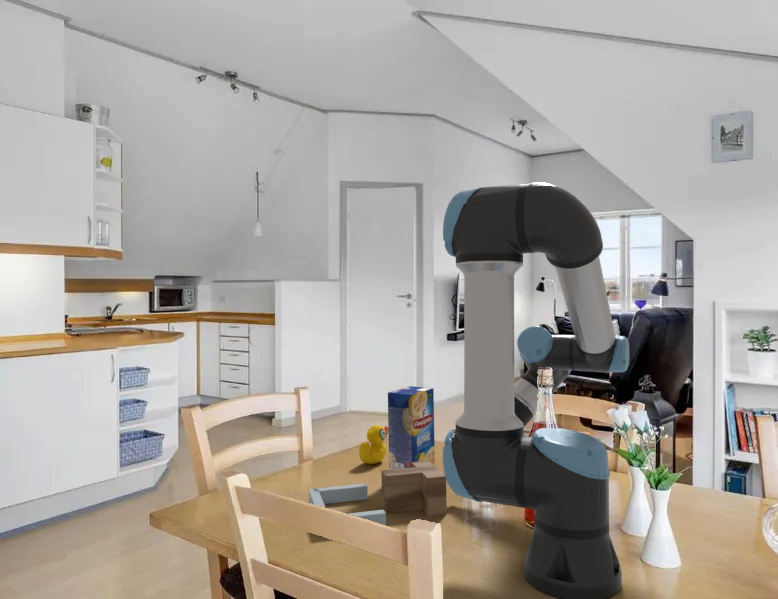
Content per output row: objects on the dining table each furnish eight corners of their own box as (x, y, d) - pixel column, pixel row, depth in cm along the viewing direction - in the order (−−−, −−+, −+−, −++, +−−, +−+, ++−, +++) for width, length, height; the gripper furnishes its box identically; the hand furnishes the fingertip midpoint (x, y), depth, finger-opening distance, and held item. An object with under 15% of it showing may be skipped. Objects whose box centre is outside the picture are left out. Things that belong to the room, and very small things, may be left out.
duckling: (380, 456, 171) (379, 420, 171) (395, 459, 168) (394, 423, 168) (354, 465, 162) (353, 428, 162) (369, 469, 159) (369, 431, 159)
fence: (386, 528, 120) (385, 513, 120) (320, 536, 116) (320, 520, 116) (365, 496, 138) (365, 483, 138) (308, 502, 135) (308, 489, 135)
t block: (446, 514, 127) (446, 476, 126) (391, 520, 124) (390, 481, 123) (428, 495, 138) (428, 460, 138) (377, 500, 135) (377, 465, 135)
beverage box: (435, 474, 154) (433, 388, 153) (413, 486, 144) (411, 394, 144) (411, 470, 157) (410, 386, 157) (389, 482, 148) (387, 392, 148)
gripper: (546, 420, 132) (476, 504, 128) (519, 409, 144) (454, 485, 140) (523, 397, 130) (452, 482, 126) (498, 388, 143) (432, 465, 139)
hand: (453, 484), depth 133 cm, fingers closed
